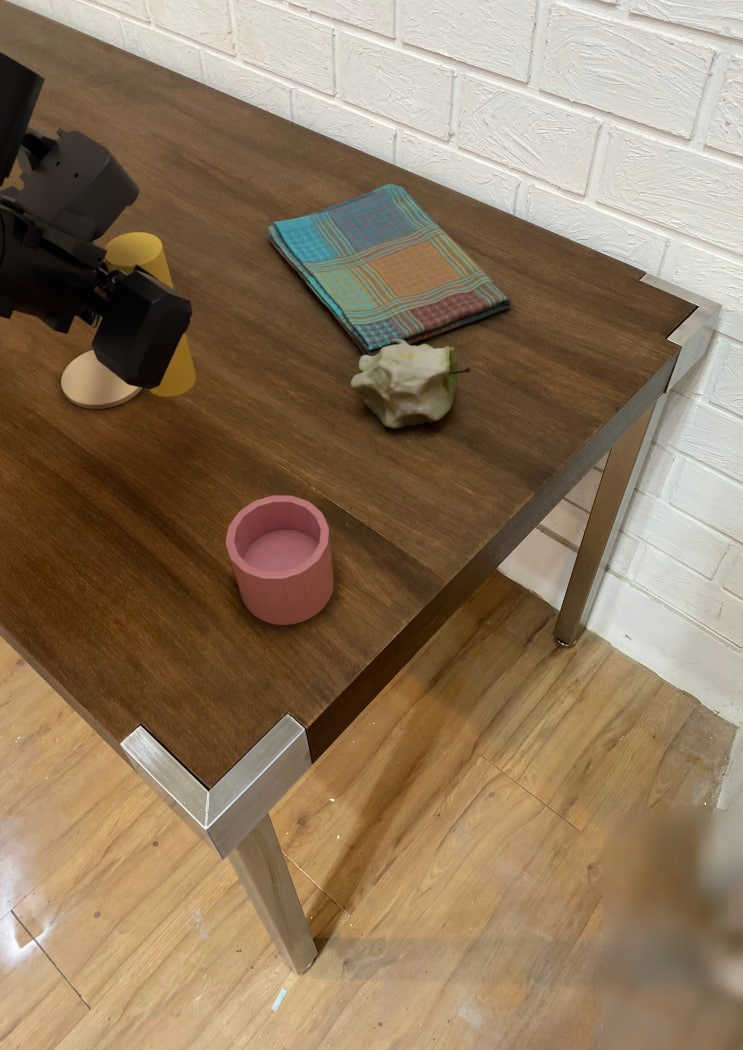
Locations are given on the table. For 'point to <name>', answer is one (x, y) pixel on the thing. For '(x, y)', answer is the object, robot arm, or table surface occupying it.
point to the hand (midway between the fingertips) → (169, 313)
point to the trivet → (94, 384)
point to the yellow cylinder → (152, 259)
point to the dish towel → (386, 269)
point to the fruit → (408, 383)
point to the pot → (281, 559)
